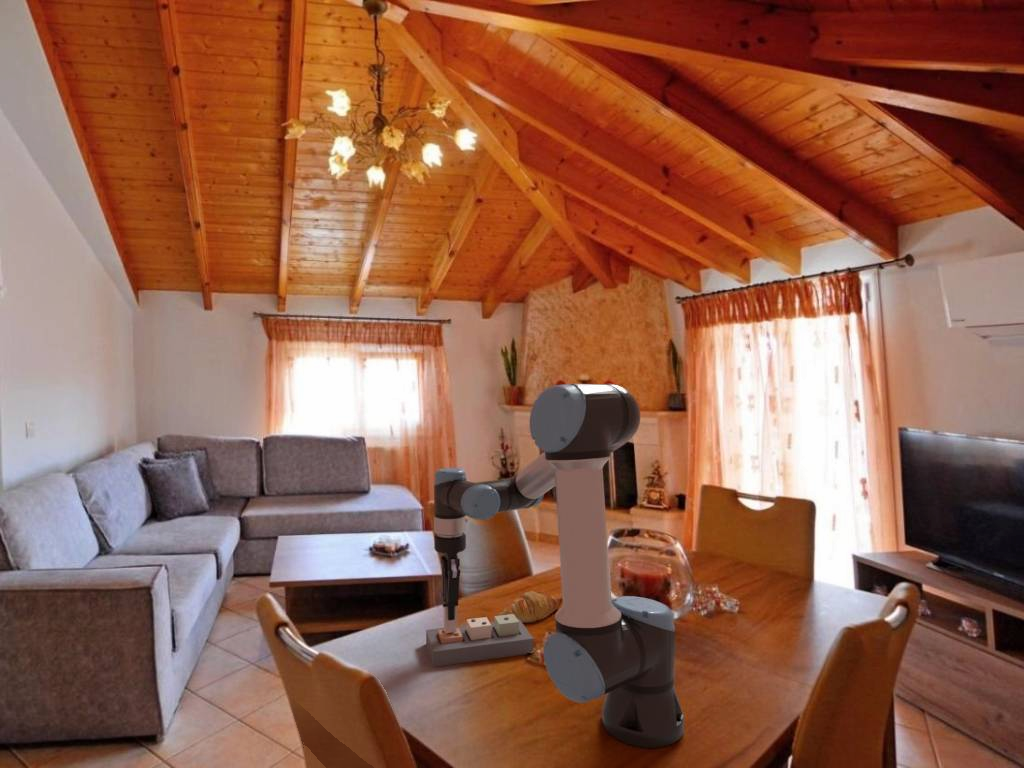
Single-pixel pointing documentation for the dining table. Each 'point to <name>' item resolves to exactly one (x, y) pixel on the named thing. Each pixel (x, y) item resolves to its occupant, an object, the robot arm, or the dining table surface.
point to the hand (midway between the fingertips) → (450, 631)
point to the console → (478, 646)
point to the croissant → (532, 606)
